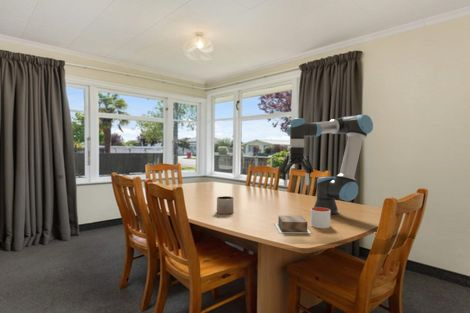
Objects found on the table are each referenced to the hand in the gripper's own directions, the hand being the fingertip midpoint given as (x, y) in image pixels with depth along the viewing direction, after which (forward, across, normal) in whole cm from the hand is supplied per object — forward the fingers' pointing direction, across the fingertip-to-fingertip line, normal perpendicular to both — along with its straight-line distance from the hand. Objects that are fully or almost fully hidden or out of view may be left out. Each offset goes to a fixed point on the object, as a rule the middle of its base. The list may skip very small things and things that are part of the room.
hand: (296, 185), depth 151 cm
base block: (+20, +9, +11) cm, 24 cm away
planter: (+22, +30, -36) cm, 52 cm away
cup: (+22, -8, +11) cm, 25 cm away
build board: (+21, +9, +11) cm, 26 cm away
